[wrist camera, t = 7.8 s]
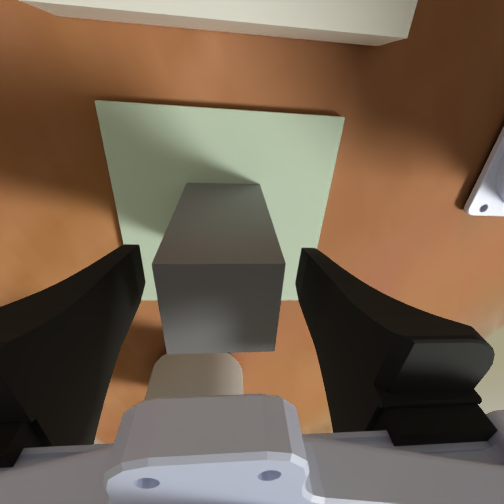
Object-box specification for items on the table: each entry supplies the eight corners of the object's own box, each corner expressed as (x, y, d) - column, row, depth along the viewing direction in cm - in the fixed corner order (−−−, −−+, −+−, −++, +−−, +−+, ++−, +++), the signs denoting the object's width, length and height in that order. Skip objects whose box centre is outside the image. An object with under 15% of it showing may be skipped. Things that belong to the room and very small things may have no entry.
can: (167, 397, 26) (127, 604, 15) (141, 343, 22) (64, 573, 11) (247, 386, 26) (259, 585, 15) (235, 330, 22) (241, 548, 11)
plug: (259, 184, 15) (285, 263, 8) (256, 246, 17) (274, 351, 10) (186, 182, 15) (151, 264, 8) (191, 246, 17) (167, 354, 10)
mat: (341, 116, 14) (345, 117, 14) (304, 295, 20) (305, 300, 20) (98, 100, 13) (94, 100, 13) (136, 295, 19) (134, 300, 19)
